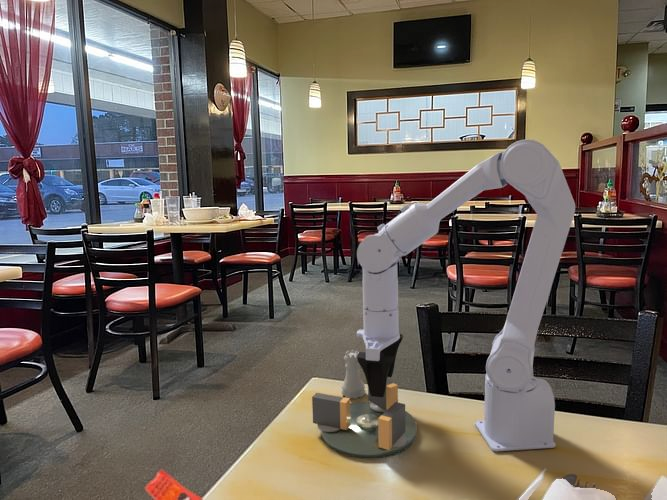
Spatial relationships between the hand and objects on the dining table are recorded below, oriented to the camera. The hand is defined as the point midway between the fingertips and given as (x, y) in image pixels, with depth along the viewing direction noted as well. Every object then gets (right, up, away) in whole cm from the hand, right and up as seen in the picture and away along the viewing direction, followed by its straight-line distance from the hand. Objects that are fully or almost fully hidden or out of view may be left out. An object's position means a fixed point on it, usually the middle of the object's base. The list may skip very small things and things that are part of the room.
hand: (381, 385), depth 83 cm
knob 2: (+1, -5, -10) cm, 11 cm away
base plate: (-3, -6, -4) cm, 8 cm away
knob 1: (-8, -5, -5) cm, 11 cm away
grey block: (0, -4, 0) cm, 4 cm away
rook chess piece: (-4, -4, +8) cm, 10 cm away
